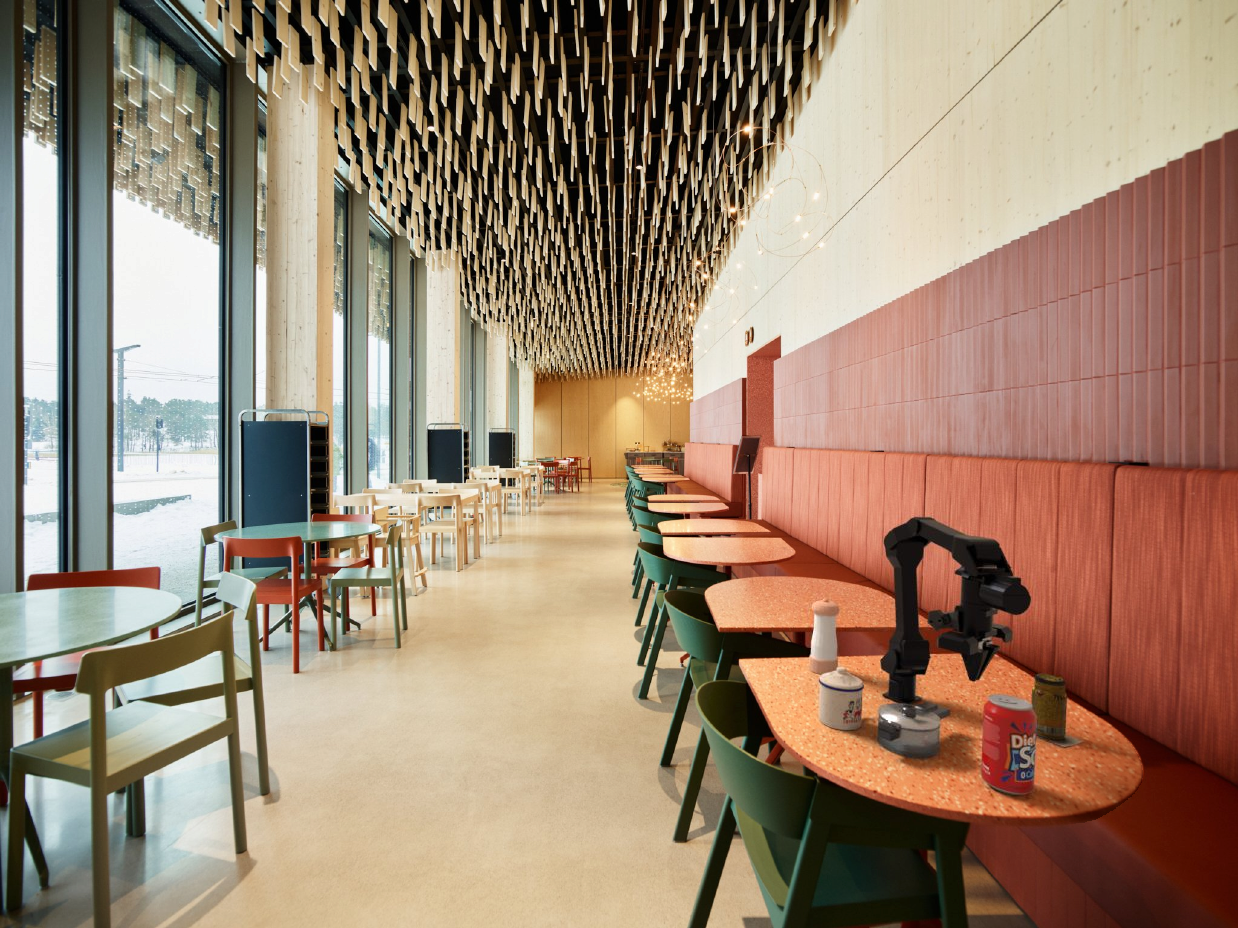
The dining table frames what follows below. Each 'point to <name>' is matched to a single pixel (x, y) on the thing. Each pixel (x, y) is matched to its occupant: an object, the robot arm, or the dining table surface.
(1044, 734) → the condiment
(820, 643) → the pepper shaker
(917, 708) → the lid
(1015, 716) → the soda can
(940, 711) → the pot
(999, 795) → the dining table surface
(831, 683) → the teacup with lid
